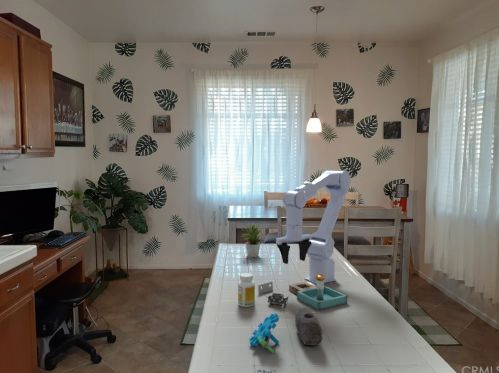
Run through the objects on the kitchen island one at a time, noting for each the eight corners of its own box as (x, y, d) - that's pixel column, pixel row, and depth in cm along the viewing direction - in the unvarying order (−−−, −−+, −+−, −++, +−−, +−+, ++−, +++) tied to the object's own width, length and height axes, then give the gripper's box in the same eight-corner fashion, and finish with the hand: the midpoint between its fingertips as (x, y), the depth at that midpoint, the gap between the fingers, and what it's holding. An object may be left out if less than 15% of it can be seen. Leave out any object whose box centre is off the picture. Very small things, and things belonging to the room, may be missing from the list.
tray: (324, 292, 131) (324, 285, 131) (347, 303, 122) (347, 295, 122) (297, 298, 125) (297, 291, 125) (318, 310, 116) (318, 302, 116)
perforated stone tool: (290, 324, 106) (291, 300, 106) (308, 323, 107) (309, 300, 106) (302, 351, 91) (303, 324, 91) (323, 350, 92) (324, 323, 91)
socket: (304, 287, 137) (304, 281, 137) (317, 293, 131) (317, 287, 131) (289, 290, 134) (289, 284, 133) (301, 296, 128) (301, 290, 127)
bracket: (278, 303, 123) (278, 293, 122) (258, 294, 130) (258, 285, 130) (292, 298, 127) (292, 288, 126) (271, 290, 135) (271, 281, 134)
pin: (318, 296, 126) (318, 273, 125) (326, 298, 124) (326, 275, 123) (313, 299, 124) (314, 275, 123) (321, 301, 122) (322, 277, 121)
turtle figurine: (263, 309, 118) (263, 295, 118) (270, 301, 124) (270, 288, 124) (309, 317, 112) (309, 302, 112) (314, 309, 118) (315, 295, 118)
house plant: (236, 251, 188) (236, 219, 187) (263, 251, 190) (263, 219, 188) (238, 259, 174) (238, 224, 173) (267, 258, 175) (268, 224, 174)
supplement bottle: (256, 302, 123) (257, 273, 122) (251, 308, 118) (251, 278, 117) (241, 300, 124) (241, 271, 124) (235, 306, 119) (235, 276, 119)
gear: (251, 326, 101) (277, 304, 98) (267, 341, 101) (293, 320, 98) (242, 352, 91) (271, 329, 88) (260, 369, 91) (289, 346, 88)
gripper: (303, 221, 141) (302, 256, 142) (271, 224, 133) (271, 261, 135) (315, 224, 135) (315, 260, 136) (282, 227, 127) (282, 266, 128)
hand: (293, 261), depth 135 cm, fingers open, 7 cm apart
